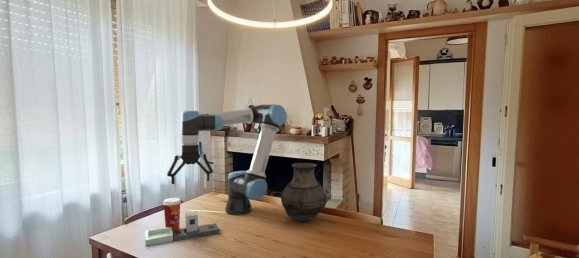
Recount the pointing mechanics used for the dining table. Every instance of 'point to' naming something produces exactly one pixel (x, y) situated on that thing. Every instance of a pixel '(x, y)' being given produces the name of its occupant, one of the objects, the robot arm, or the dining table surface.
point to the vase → (303, 194)
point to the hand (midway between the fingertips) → (190, 189)
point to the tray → (159, 235)
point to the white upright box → (191, 222)
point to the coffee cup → (172, 212)
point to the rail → (202, 231)
